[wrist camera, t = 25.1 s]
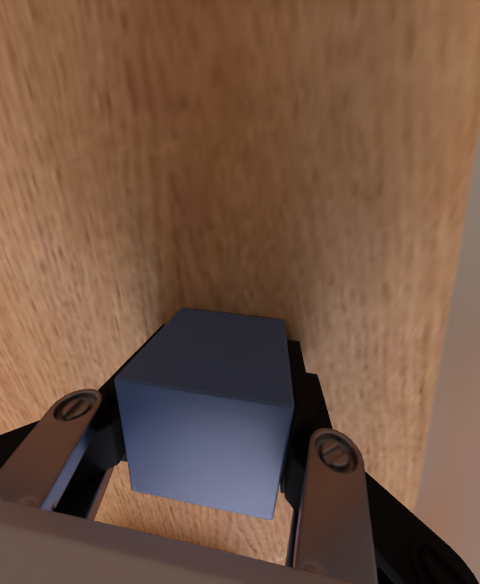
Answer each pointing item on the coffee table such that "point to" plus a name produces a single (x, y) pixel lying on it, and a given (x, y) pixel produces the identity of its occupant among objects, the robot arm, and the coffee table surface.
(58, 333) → the coffee table surface
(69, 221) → the coffee table surface
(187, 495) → the blue block
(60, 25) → the coffee table surface
